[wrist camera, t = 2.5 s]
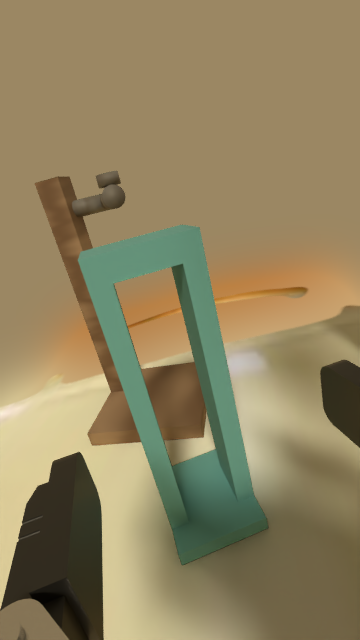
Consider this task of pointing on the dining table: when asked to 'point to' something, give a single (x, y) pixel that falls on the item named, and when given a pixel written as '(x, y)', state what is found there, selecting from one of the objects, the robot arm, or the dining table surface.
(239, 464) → the teal loop
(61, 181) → the hook stand
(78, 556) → the robot arm
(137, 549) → the dining table surface
